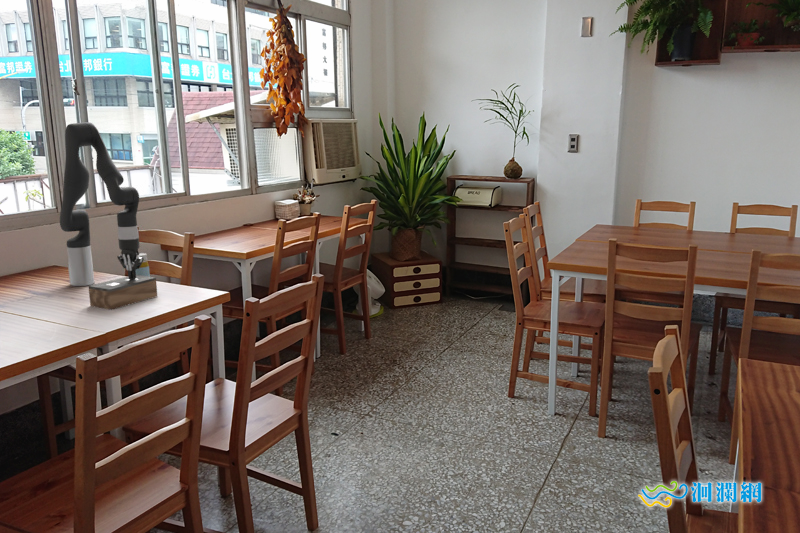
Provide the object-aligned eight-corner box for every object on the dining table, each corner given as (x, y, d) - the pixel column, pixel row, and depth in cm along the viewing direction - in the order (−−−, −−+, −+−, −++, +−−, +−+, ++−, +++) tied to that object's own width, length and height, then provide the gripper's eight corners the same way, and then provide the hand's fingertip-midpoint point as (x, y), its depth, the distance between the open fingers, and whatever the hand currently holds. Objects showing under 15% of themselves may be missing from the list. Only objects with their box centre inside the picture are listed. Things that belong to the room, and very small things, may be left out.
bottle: (138, 290, 256) (135, 256, 253) (130, 288, 260) (127, 254, 257) (153, 287, 261) (151, 254, 258) (145, 285, 265) (142, 252, 262)
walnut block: (90, 305, 233) (88, 285, 231) (136, 292, 252) (135, 274, 251) (111, 309, 228) (109, 289, 226) (157, 296, 247) (155, 277, 245)
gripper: (109, 237, 238) (113, 279, 242) (132, 239, 232) (136, 283, 236) (124, 234, 245) (128, 275, 248) (148, 237, 239) (151, 279, 243)
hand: (132, 279), depth 242 cm, fingers closed
